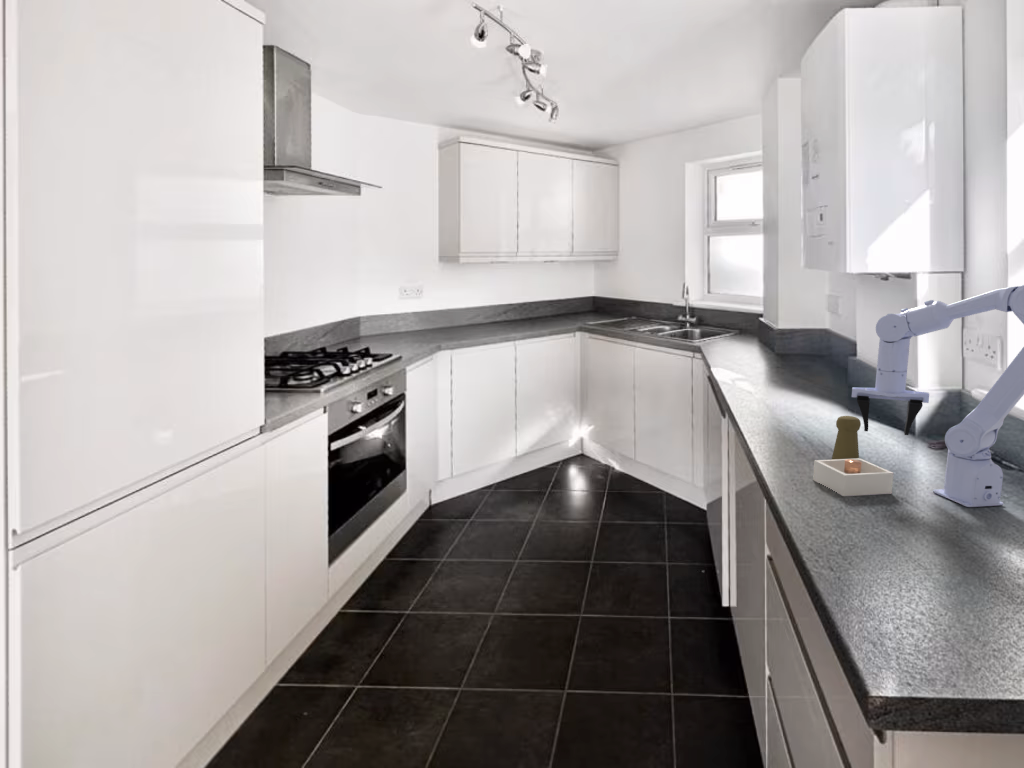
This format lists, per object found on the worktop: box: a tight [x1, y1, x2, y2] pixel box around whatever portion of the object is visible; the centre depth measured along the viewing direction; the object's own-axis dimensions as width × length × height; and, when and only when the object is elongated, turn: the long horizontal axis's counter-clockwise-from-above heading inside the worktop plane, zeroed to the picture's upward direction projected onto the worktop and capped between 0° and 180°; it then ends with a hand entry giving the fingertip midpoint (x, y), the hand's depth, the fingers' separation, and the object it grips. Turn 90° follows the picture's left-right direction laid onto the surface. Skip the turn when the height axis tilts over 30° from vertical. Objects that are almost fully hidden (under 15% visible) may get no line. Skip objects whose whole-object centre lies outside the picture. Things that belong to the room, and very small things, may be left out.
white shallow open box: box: [812, 457, 894, 497], centre depth 149 cm, size 13×11×4 cm
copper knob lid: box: [844, 459, 862, 474], centre depth 148 cm, size 9×9×5 cm
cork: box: [830, 415, 861, 460], centre depth 165 cm, size 6×6×11 cm
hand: (885, 432), depth 152 cm, fingers open, 7 cm apart
